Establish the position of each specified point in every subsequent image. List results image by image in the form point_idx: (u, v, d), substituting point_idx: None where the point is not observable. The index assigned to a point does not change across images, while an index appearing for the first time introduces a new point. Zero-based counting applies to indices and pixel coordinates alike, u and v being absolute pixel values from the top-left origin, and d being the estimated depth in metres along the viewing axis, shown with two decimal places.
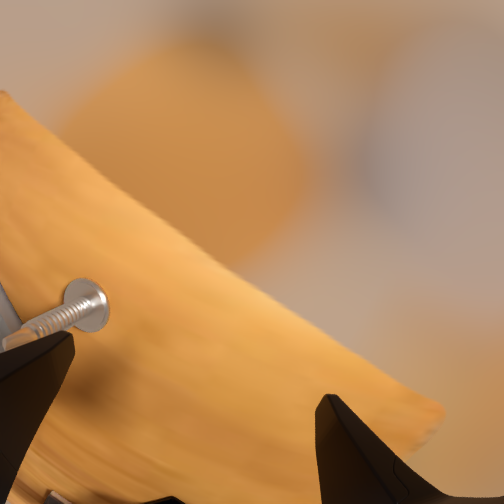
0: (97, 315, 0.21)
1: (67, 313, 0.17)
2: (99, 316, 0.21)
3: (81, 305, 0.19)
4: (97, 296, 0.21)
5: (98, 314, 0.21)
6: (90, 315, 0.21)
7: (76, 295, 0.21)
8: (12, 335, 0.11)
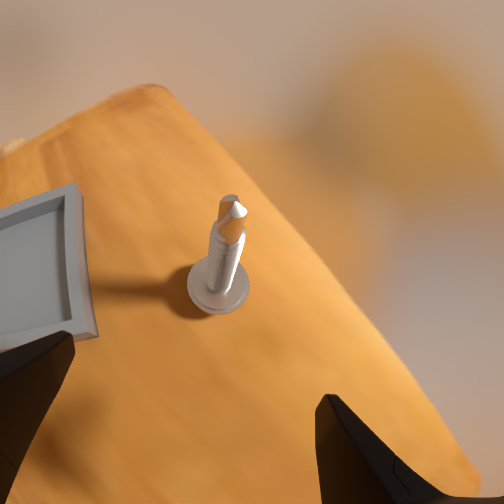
0: (232, 295, 0.21)
1: None
2: (235, 297, 0.21)
3: None
4: (242, 277, 0.22)
5: (234, 295, 0.21)
6: (223, 293, 0.21)
7: None
8: None
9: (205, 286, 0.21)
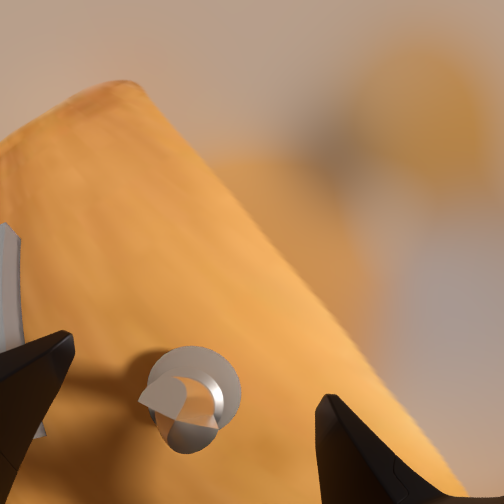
0: None
1: None
2: None
3: None
4: (230, 383, 0.13)
5: None
6: None
7: None
8: (193, 381, 0.04)
9: None
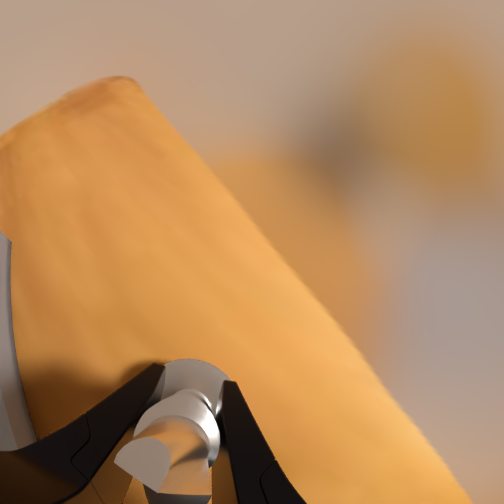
0: None
1: None
2: None
3: None
4: None
5: None
6: None
7: (183, 384, 0.12)
8: (180, 435, 0.03)
9: None
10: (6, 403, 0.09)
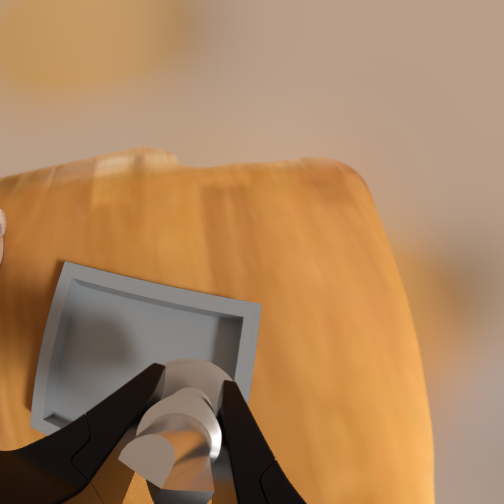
0: None
1: None
2: None
3: None
4: None
5: None
6: None
7: (184, 383, 0.12)
8: (183, 433, 0.03)
9: None
10: None
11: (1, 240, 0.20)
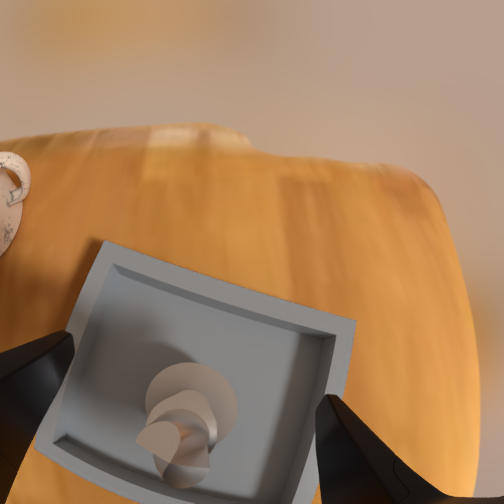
0: None
1: None
2: None
3: None
4: (227, 400, 0.13)
5: None
6: None
7: (185, 386, 0.13)
8: (187, 422, 0.04)
9: None
10: (312, 495, 0.12)
11: (20, 206, 0.17)
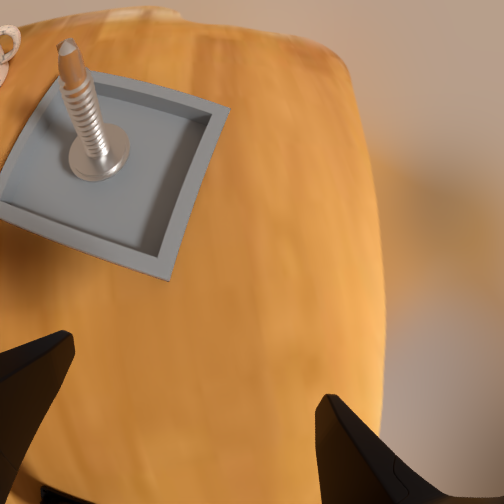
0: (108, 161, 0.17)
1: (99, 118, 0.14)
2: (110, 163, 0.17)
3: None
4: (122, 143, 0.18)
5: (110, 161, 0.17)
6: (100, 159, 0.17)
7: None
8: (76, 46, 0.08)
9: (84, 153, 0.17)
10: None
11: (7, 66, 0.16)
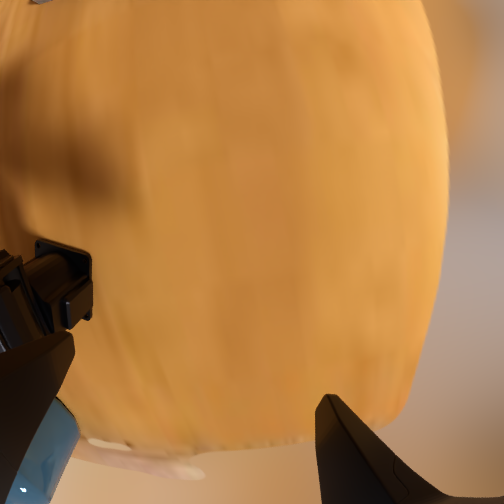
0: None
1: None
2: None
3: None
4: None
5: None
6: None
7: None
8: None
9: None
10: None
11: None
